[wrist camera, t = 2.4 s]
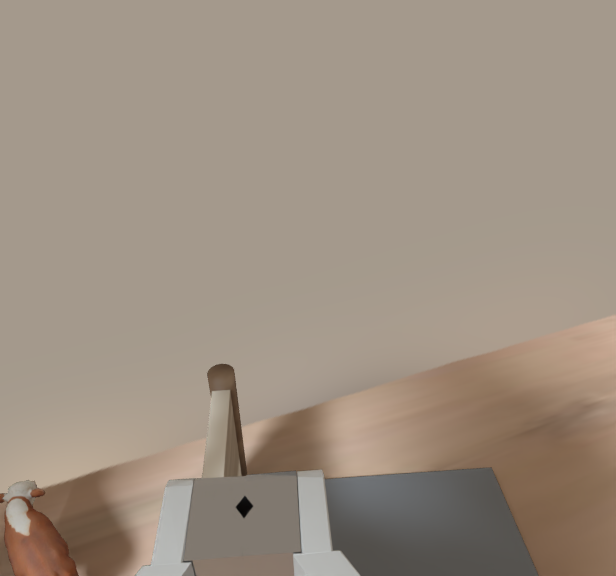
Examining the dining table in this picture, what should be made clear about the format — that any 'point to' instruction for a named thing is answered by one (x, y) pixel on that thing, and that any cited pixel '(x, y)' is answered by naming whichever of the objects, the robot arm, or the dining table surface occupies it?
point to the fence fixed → (223, 427)
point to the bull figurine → (33, 536)
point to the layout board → (426, 525)
